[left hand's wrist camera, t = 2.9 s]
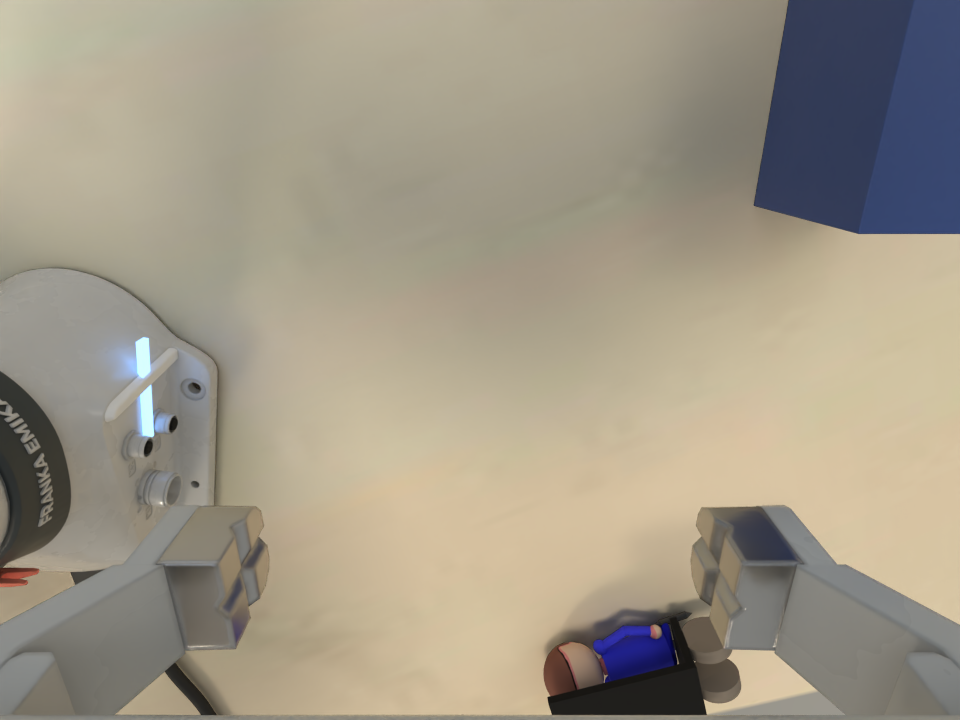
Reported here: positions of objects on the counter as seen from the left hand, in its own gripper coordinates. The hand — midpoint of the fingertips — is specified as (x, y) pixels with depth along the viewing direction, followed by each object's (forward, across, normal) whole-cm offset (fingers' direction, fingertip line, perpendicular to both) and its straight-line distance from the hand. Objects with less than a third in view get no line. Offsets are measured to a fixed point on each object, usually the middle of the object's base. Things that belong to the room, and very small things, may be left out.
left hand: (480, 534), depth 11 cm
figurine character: (+28, +13, -33) cm, 45 cm away
